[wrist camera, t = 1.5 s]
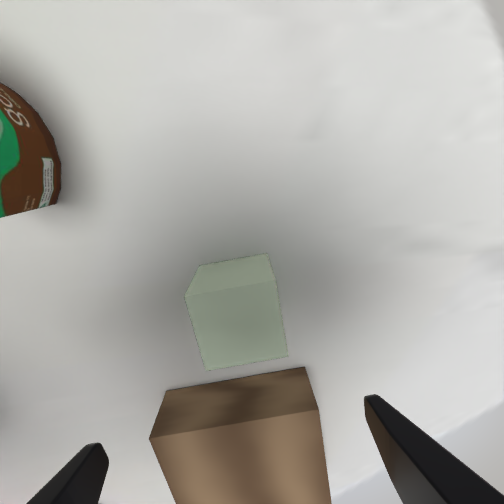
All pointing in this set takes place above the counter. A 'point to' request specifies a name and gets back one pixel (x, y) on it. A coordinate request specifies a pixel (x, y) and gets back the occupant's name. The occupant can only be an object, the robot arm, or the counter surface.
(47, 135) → the food container
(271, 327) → the sage cube
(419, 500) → the robot arm
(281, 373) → the walnut block
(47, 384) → the counter surface
